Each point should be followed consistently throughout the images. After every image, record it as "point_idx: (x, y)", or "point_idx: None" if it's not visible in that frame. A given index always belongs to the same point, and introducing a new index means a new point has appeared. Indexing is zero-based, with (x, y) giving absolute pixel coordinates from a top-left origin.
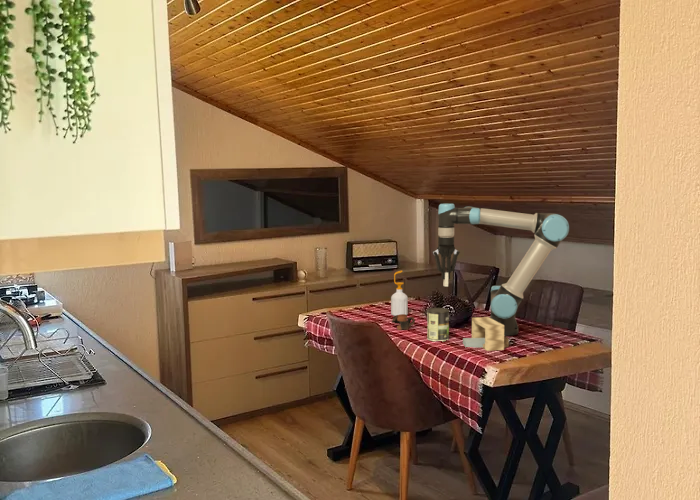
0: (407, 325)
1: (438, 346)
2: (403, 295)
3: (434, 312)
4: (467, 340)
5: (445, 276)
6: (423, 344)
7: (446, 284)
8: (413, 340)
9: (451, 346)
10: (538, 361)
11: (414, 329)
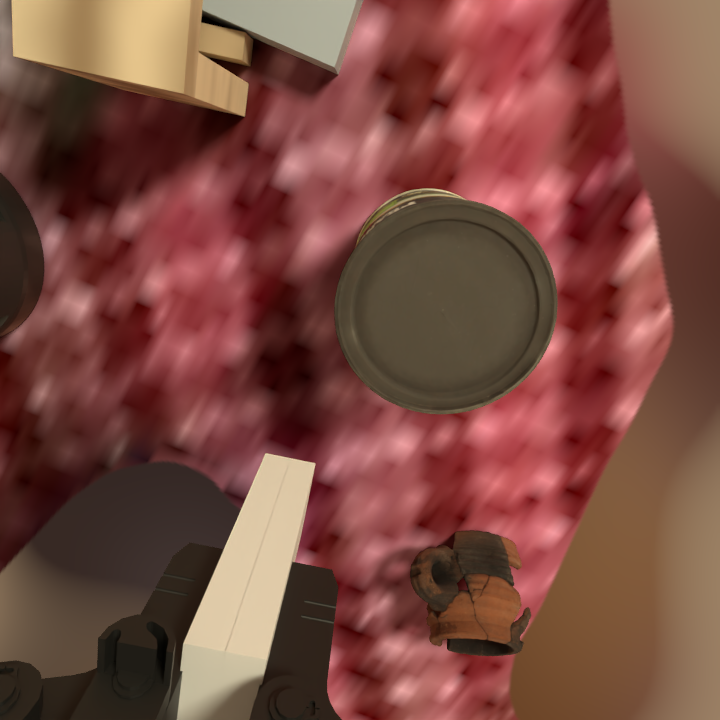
0: (463, 550)
1: (538, 75)
2: None
3: (535, 242)
4: None
5: (280, 586)
6: (594, 174)
7: (289, 477)
8: (585, 299)
9: (455, 32)
10: None
11: (421, 521)
